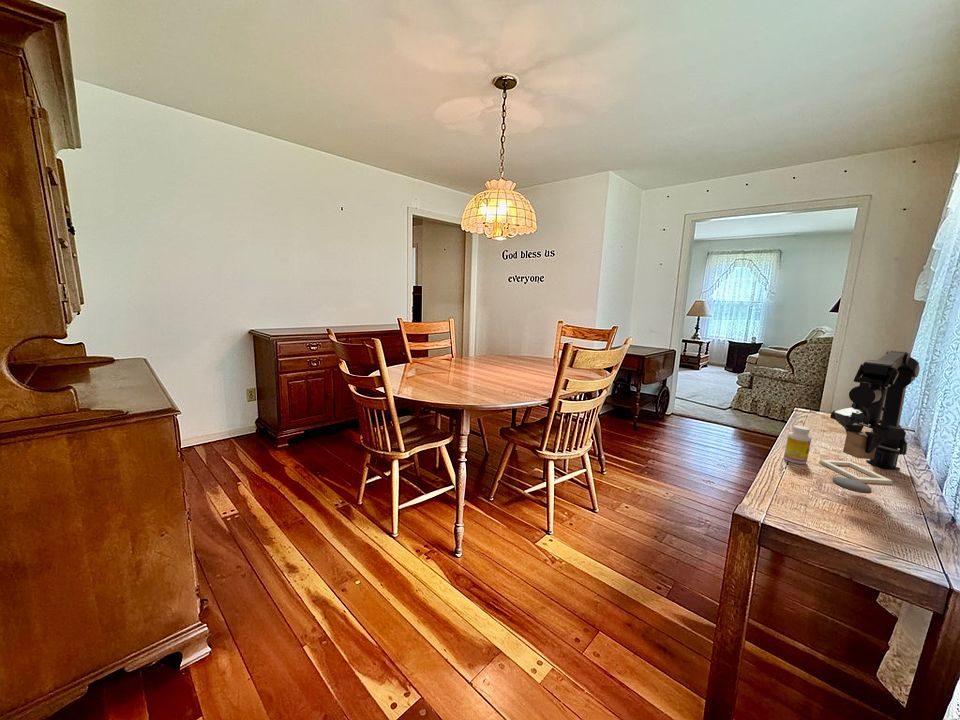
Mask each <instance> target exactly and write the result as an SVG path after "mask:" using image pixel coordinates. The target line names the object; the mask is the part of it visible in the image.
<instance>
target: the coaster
mask: <svg viewBox="0 0 960 720" xmlns="http://www.w3.org/2000/svg"><path fill="white" fill-rule="evenodd" d="M832 482H833V484H836V485H837V486H840V487H842V488H844V489H847V490H850V491H854V492H860V493H871V492H872V487H871V486H870V485H867V483H862V482H859V481H856V480H853V479H850V478H848V477H843V476H835V477H834V476H833V478H832Z"/></svg>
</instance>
